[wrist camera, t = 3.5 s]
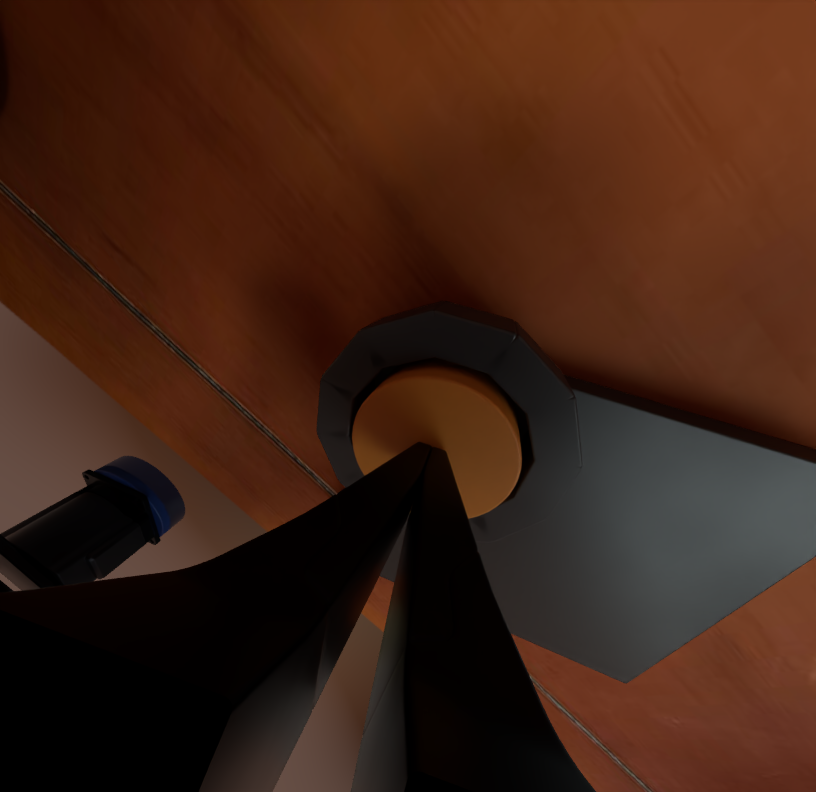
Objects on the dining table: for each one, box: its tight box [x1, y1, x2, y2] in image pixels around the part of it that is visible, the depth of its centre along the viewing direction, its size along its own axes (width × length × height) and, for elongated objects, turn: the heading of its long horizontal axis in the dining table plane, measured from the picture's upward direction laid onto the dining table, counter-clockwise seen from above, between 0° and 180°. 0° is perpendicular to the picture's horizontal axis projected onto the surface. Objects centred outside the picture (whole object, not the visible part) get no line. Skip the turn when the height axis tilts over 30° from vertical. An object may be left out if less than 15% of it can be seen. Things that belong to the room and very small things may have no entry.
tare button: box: [352, 357, 522, 519], centre depth 9 cm, size 5×5×2 cm
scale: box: [317, 301, 816, 683], centre depth 11 cm, size 16×14×3 cm
